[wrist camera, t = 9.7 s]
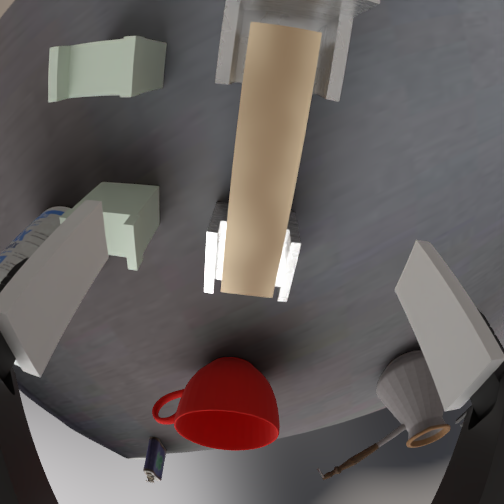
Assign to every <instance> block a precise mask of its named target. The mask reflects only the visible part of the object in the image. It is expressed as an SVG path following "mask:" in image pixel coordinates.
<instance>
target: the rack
mask: <svg viewBox="0 0 504 504" xmlns="http://www.w3.org/2000/svg"><path fill="white" fill-rule="evenodd" d="M166 47H167V43H164V42H160V41H155V40H150V39H145V37H141V36H124V39H116V40H107V41H99V42H91V43H84V44H78V45H72V46H56V47H51V48H50V53H49V74H48V102H57V101H60V100H64V99H67V98H77V97H90V96H108V95H120V97H134V96H137V95H140V94H141V93H145V92H149V91H153V90H157V89H161V88H163V79H164V68H165V57H166ZM85 200H94V201H102V209H103V219H104V227H105V235H106V243H107V250H108V255H114V256H121V257H127V264H128V269H130V270H138V269H139V267H140V265H141V263H142V261H143V253H144V251H145V249H146V247H147V246H148V244H149V242H150V240H151V238H152V237H153V235H154V233H155V232H156V230H157V228H158V226H159V225H160V213H159V186H153V185H140V184H127V183H113V182H101V183H100V184H99V185H98V186H97V187H95V188H94V189H93V190H92V191H91V192H90V193H88V194H87V195H86V196H85V197H84V198H83V199H82V200H81V201H80V202H78V203H77V204H76V205H75V206H74V207H73V208H72V209H68V210H67V211H66V212H64V213H63V214H62V215H61V216H60V217H59V219H60V224H62V223H63V222H64V221H65V220H66V219H67V218H68V217H69V216H70V215H71V214H72V213H73V212H74V211H75V210H76V209H77V208H78V207H79V206H80V205H81V204H82V203H83V202H84V201H85Z"/></svg>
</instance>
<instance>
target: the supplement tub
mask: <svg viewBox="0 0 504 504" xmlns="http://www.w3.org/2000/svg"><path fill="white" fill-rule="evenodd" d="M68 209H71V208H68V207H62V206H57V207H52V208H49V209H47V210H46V211H44V212H43V213H42V214H41V215H40V216H39V217H37V218H36V219H35V220H34V221H33V222H32V223H31V224H30V225H29V226H28V227H27V228H26V229H25V230H24V231H22V232H21V233H20V234H19V235H18V236H17V237H16V238H15V239H14V240H13V241H12V242H11V243H10V244H9V245H8V246H7V247H6V248H5V250H4V251H3V252H2V253H1V254H0V284H1V281H2V280H3V279H4V277H7V274H8V273H9V272H10V270H11V269H12V268H13V267H14V266H15V265H16V264H18V263H19V262H21V261H22V260H24V259H25V258H30V257H31V255H32V254H33V253H34V252H35V251H36V250H37V249H38V248H39V247H40V246H41V244H42V243H43V242H44V241H45V240H46V239H47V238H48V237H49V236H50V235H51V234H52V233H53V232H54V231H55V230H56V229H57V228H58V227H59V226H60V225H61V224H60V219H59V217H60V216H61V215H62V214H63V213H64V212H66V211H67V210H68ZM14 364H15V365H18V366H19V364H18V362H17V361H16V360H15V362H14Z"/></svg>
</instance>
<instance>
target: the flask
mask: <svg viewBox="0 0 504 504" xmlns="http://www.w3.org/2000/svg"><path fill="white" fill-rule="evenodd" d="M165 455H166V449H165V448H164V446H163V445H162V444H161V443H160V440H159V439H157V438H155V437H150V439H149V445H148V450H147V455H146V461H145V465H144V473H145V474H146V475H147V478H148V481H149V482H152V483H154V481H153V480H156V481H161V478H162V472H163V466H164V461H165ZM148 481H146V482H148Z"/></svg>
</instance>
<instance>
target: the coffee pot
mask: <svg viewBox="0 0 504 504" xmlns="http://www.w3.org/2000/svg"><path fill="white" fill-rule="evenodd" d="M376 393H377V395H378V397H379V399H380V400H381V401H382V402H383V403H384V404H385V406H386V407H387V408H388V409H389V410H390V411H391V412H392V414H393V415H394V416H395V417H396V418H397V419H398V420H399V422H400V423H401V424H402V425H400V426H399V427H398V428H397V429H395V430H394V431H393V432H391V433H390V434H389V435H387V436H386V437H385V438H383V439H382V440H380V441H379V442H378V443H375V444H374V445H372V446H370V447H369V448H367V449H365V450H363V451H362V452H360V453H358V454H357V455H355V456H353V457H351V458H350V459H348V460H347V461H346V462H345V463H343V464H342V465H341V466H339V467H338V466H337V467H335V468H334V470H333V471H331V472H328V473H326V474H325V475H323V474H322V472H321V471H320V469H319V468H318V471H319V473H320V474H321V476H322V478H323V480H325V479H328V478H330V477H332V476H333V475H334V474H340V473H341V471H342V470H344V469H346V468H349V467H351V466H353V465H355V464H357V463H358V462H360V461H361V460H363V459H364V458H365V457H367V456H368V455H370V454H371V453H373V452H374V451H375V450H377V449H378V448H379V447H380V446H382V445H383V444H385V443H386V442H388V441H389V440H391V439H392V438H394V437H395V436H397V435H398V434H399V433H401V432H402V431H404V430H405V429H406V430H407V431H408V432H409V440H408V441H407V443H406V445H407V447H410V448H414V447H420V446H424V445H427V444H429V443H432V442H434V441H436V440H438V439H440V438H441V437H443V436H444V435H446V434H447V433H448V432H449V430H450V426H449V425H448V424H446V423H445V422H444V420H443V418H442V417H443V405H442V402H441V399H440V396H439V394H438V391H437V388H436V385H435V383H434V380H433V378H432V375H431V372H430V370H429V367H428V365H427V362H426V360H425V357H424V355H423V352H422V351H412V352H408V353H406V354H403V355H401V356H399V357H397V358H396V359H394V360H393V361H392V362H391V363H390V364H389V365H388V366H387V367H386V369H385V370H384V372H383V373H382V375H381V376H380V378H379V380H378V383H377V388H376Z"/></svg>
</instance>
